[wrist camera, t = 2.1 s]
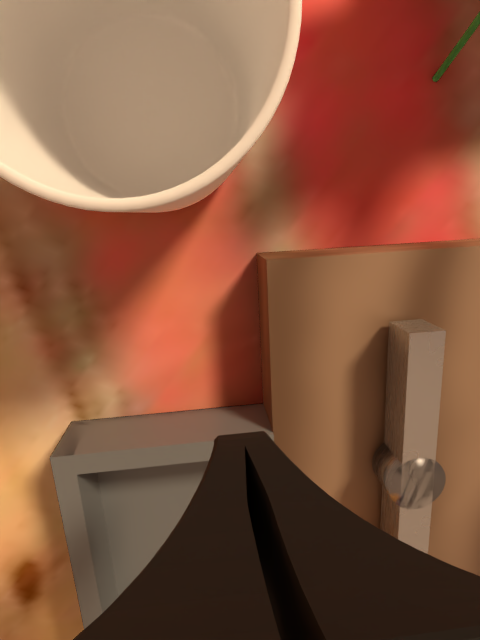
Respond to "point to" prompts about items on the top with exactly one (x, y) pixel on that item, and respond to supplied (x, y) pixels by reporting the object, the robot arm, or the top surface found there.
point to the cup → (138, 96)
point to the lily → (457, 48)
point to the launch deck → (373, 371)
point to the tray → (133, 489)
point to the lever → (411, 431)
